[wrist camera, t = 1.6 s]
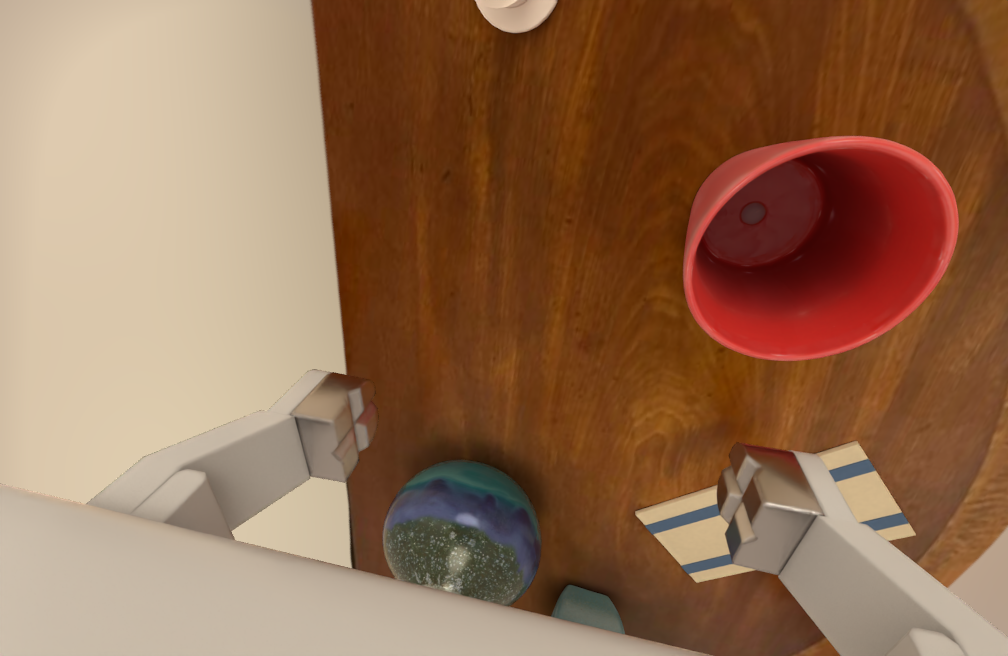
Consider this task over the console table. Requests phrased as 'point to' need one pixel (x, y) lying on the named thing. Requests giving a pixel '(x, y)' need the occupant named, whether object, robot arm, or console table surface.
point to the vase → (464, 532)
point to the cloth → (701, 530)
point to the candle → (516, 13)
